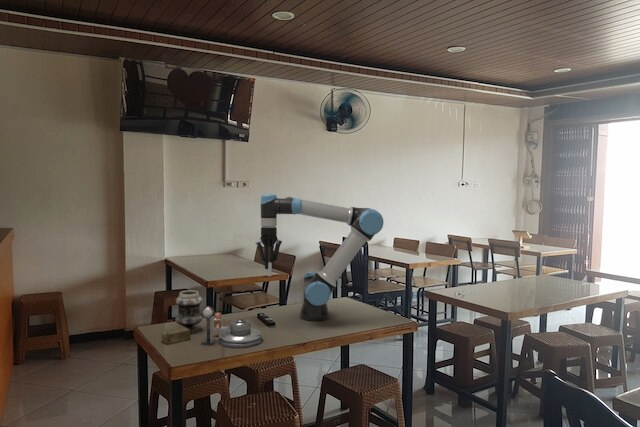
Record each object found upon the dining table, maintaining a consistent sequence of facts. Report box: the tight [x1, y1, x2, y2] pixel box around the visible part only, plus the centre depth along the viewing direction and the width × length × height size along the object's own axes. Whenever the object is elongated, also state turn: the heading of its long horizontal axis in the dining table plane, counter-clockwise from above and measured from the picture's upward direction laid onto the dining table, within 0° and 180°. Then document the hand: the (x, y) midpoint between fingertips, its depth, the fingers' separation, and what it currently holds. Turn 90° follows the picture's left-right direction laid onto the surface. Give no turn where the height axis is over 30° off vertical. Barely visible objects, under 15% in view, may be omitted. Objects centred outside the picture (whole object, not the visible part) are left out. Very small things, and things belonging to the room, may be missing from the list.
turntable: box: [212, 312, 262, 343], centre depth 212 cm, size 18×22×9 cm
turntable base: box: [217, 334, 263, 349], centre depth 212 cm, size 19×19×2 cm
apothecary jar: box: [174, 289, 203, 335], centre depth 223 cm, size 12×12×18 cm
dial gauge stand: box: [200, 305, 222, 346], centre depth 207 cm, size 8×5×16 cm, turn 89°
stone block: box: [161, 326, 191, 345], centre depth 210 cm, size 6×12×5 cm, turn 133°
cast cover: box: [229, 318, 252, 337], centre depth 212 cm, size 9×9×6 cm
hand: (268, 275), depth 233 cm, fingers closed
